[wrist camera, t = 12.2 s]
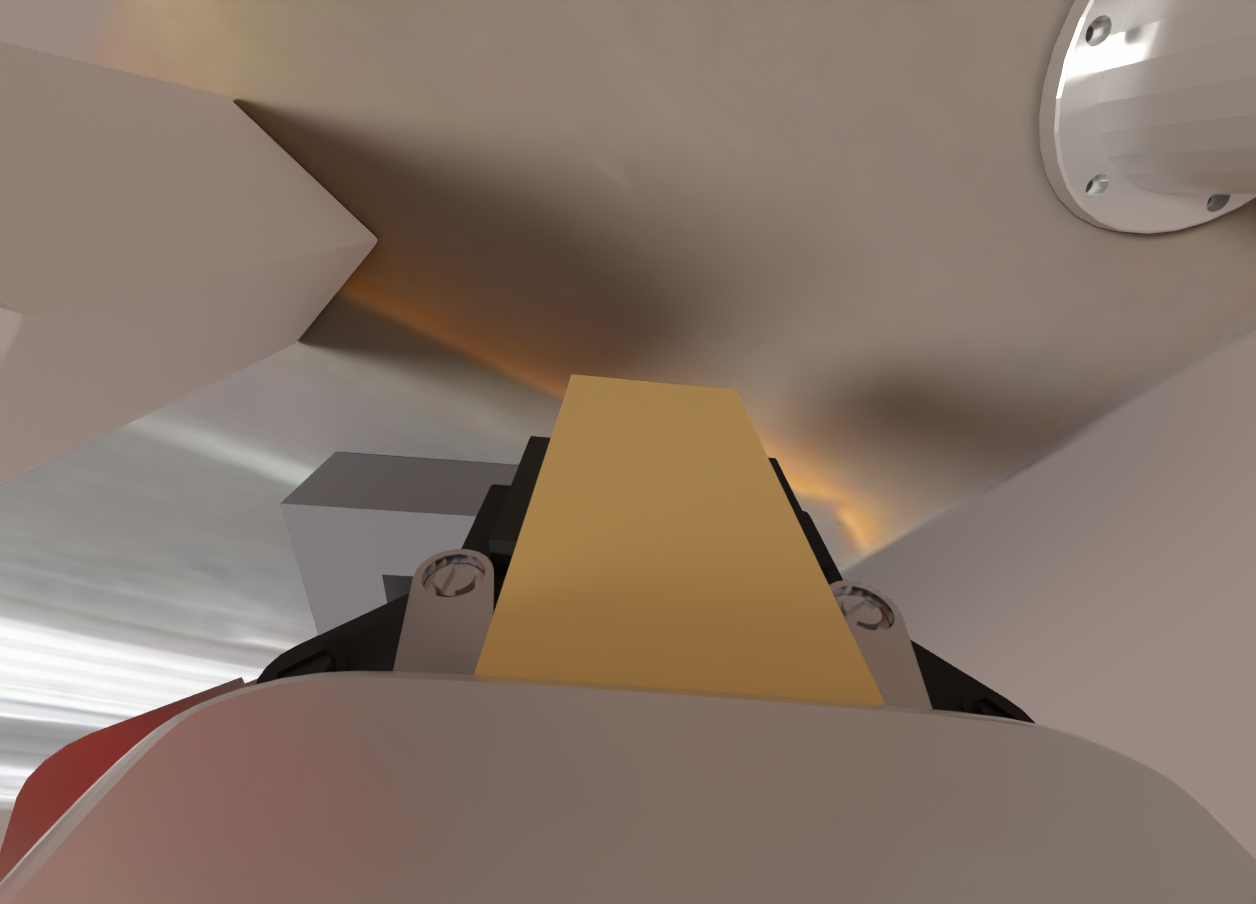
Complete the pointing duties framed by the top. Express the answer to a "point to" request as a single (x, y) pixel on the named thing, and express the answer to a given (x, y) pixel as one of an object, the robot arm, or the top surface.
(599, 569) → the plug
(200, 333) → the milk carton
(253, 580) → the top surface
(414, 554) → the socket housing
